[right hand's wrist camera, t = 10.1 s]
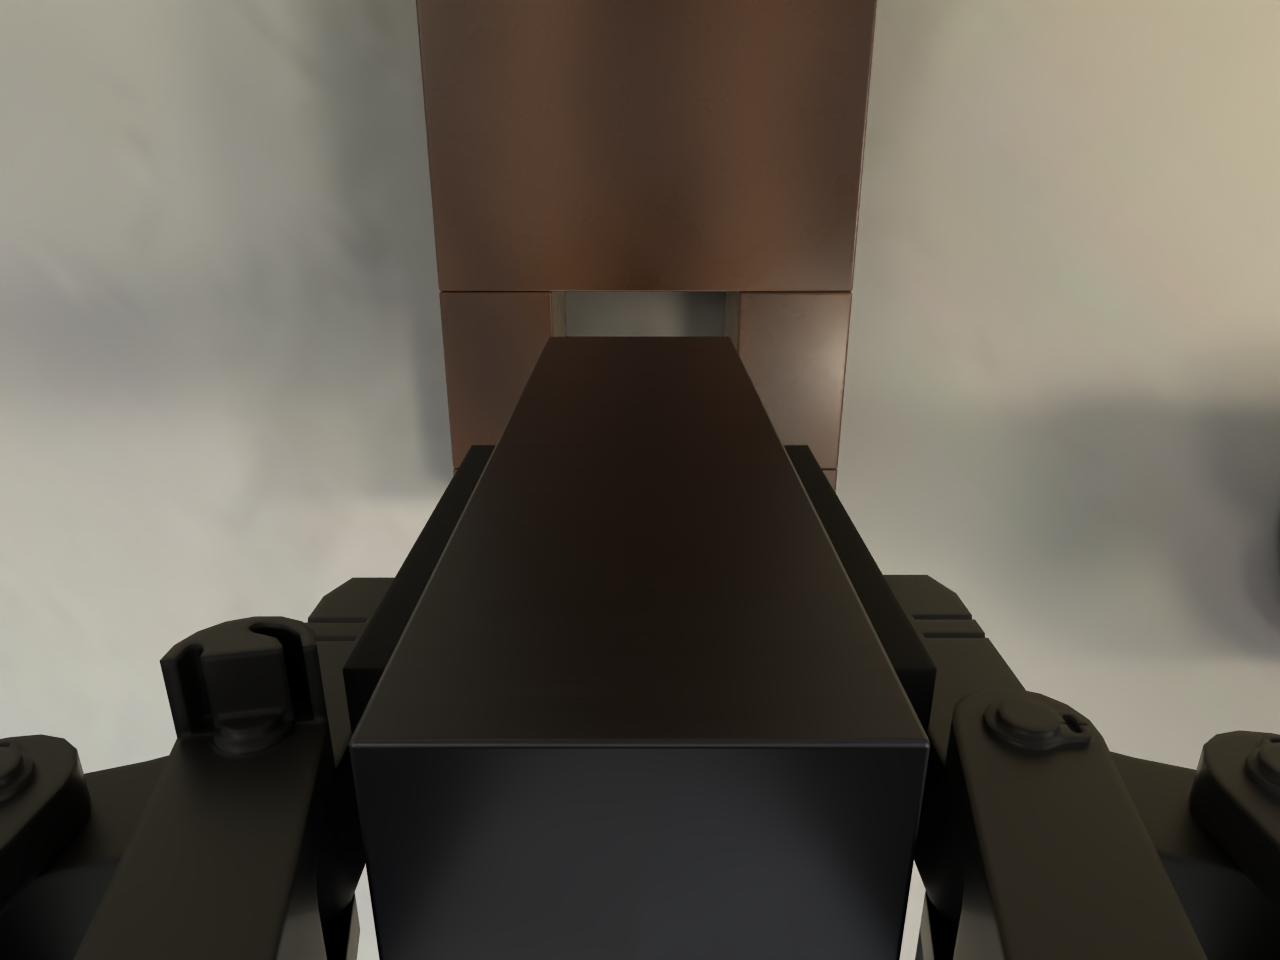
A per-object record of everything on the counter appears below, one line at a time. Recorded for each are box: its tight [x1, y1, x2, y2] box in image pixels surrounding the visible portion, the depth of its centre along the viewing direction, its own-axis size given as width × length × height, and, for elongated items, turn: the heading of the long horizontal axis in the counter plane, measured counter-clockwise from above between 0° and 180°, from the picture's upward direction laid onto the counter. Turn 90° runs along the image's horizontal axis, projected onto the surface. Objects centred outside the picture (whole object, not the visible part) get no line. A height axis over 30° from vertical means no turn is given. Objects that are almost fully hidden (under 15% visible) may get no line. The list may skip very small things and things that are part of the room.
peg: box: [349, 337, 930, 960], centre depth 13 cm, size 4×4×14 cm
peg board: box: [416, 0, 877, 491], centre depth 18 cm, size 11×26×14 cm, turn 0°
